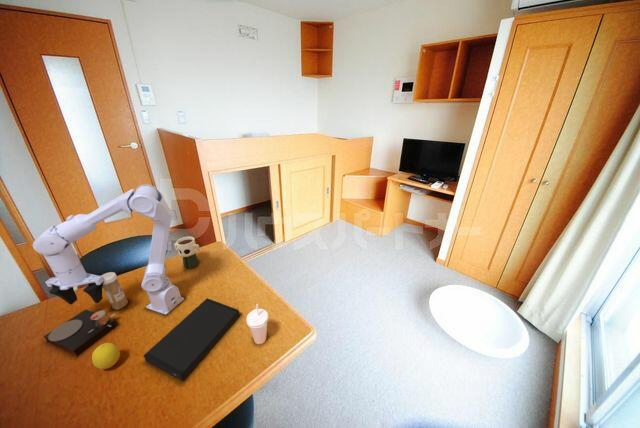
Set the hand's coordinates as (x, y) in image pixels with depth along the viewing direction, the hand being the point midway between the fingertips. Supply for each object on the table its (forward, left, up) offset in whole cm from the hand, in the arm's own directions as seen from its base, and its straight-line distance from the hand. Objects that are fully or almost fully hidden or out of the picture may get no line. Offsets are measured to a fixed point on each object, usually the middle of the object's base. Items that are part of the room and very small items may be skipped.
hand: (86, 301), depth 76 cm
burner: (+2, +6, -7) cm, 10 cm away
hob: (-1, +4, -9) cm, 10 cm away
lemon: (-20, +8, -9) cm, 23 cm away
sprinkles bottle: (0, -8, -9) cm, 12 cm away
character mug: (-6, -35, -9) cm, 36 cm away
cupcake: (-5, +1, -7) cm, 8 cm away
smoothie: (-55, -13, -9) cm, 57 cm away
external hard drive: (-36, -7, -9) cm, 38 cm away
